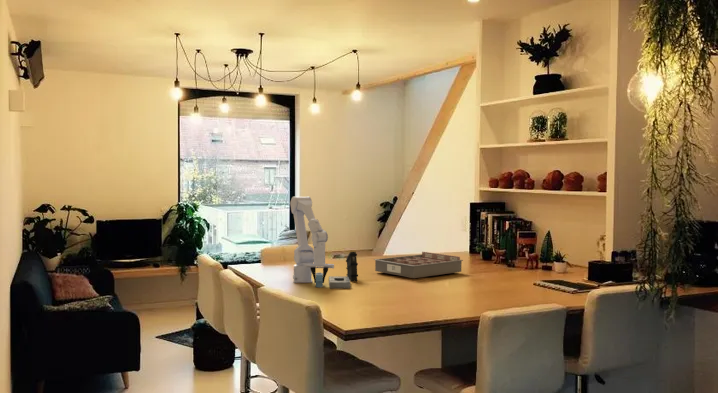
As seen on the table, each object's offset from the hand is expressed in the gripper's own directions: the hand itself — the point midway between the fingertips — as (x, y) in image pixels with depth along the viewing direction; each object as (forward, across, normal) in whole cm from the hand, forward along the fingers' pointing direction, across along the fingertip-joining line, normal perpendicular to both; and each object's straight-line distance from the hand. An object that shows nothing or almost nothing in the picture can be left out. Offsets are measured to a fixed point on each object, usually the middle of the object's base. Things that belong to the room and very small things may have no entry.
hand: (319, 282), depth 301 cm
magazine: (+2, +17, +20) cm, 26 cm away
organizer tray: (+2, +56, +40) cm, 69 cm away
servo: (+2, 0, 0) cm, 2 cm away
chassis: (+2, +10, +2) cm, 10 cm away
